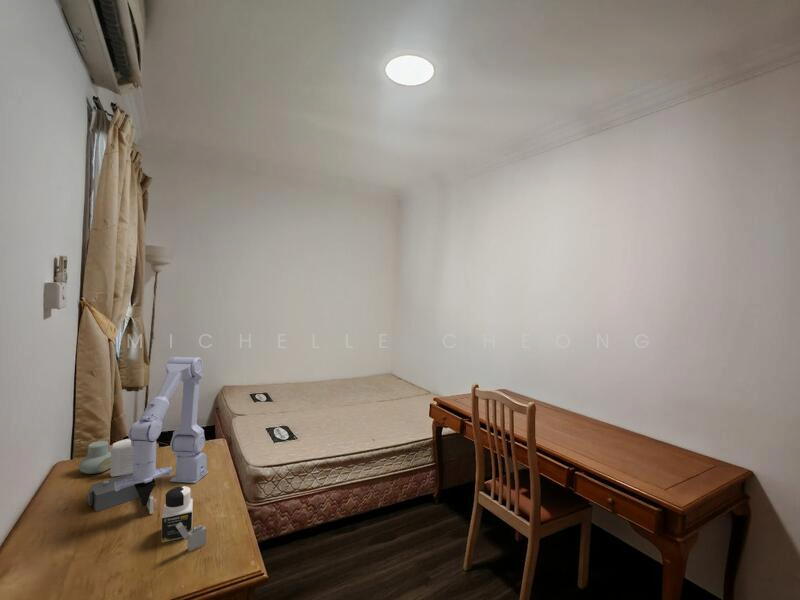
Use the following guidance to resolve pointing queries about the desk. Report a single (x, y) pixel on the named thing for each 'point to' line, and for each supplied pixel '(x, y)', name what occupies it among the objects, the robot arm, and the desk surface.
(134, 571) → the desk surface
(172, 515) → the medicine bottle
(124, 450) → the photo printer
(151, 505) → the side door
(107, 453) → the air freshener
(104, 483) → the camera case
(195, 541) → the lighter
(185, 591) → the desk surface
